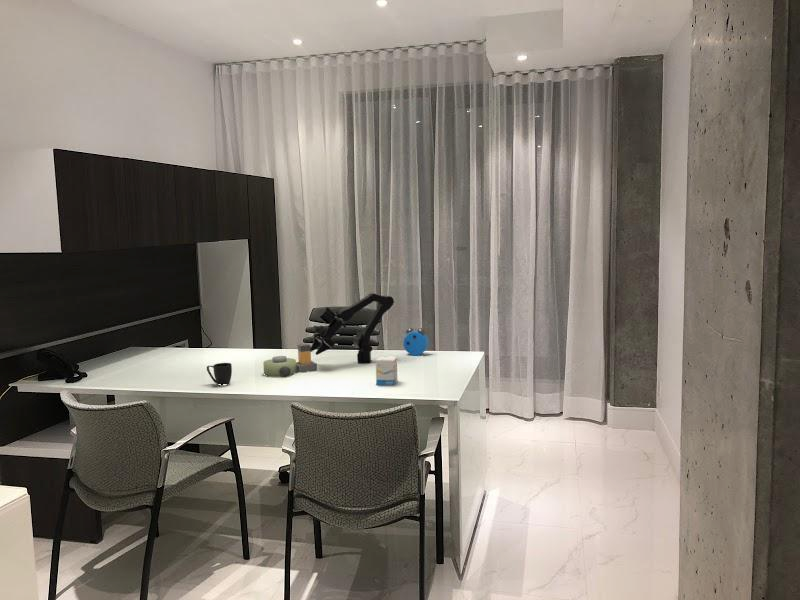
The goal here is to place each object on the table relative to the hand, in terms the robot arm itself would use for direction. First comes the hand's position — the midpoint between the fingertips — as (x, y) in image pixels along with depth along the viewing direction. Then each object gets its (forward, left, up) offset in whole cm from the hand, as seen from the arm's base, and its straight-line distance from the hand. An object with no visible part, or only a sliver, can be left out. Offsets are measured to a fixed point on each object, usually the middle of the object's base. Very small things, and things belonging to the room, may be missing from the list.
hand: (313, 352), depth 332 cm
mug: (+36, +34, -8) cm, 50 cm away
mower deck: (+10, +7, -8) cm, 15 cm away
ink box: (-43, +29, -9) cm, 53 cm away
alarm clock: (-48, -36, -8) cm, 61 cm away
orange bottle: (+4, +3, -8) cm, 10 cm away
